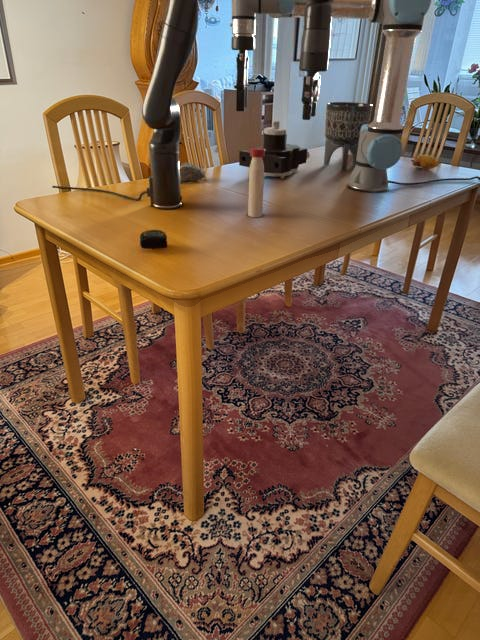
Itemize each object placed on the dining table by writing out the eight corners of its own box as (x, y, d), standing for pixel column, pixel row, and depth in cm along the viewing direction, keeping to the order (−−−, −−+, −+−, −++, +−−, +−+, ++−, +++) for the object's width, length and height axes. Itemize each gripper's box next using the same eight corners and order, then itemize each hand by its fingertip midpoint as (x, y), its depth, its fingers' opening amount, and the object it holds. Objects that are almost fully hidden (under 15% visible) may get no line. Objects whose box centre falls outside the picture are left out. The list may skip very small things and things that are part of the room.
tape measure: (140, 252, 115) (139, 238, 113) (141, 242, 120) (140, 229, 119) (167, 251, 116) (166, 237, 114) (167, 241, 121) (166, 228, 120)
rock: (198, 175, 188) (197, 159, 184) (210, 180, 182) (210, 163, 179) (170, 180, 180) (169, 163, 177) (183, 185, 175) (182, 168, 171)
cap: (248, 156, 134) (248, 149, 133) (252, 154, 137) (252, 147, 136) (262, 157, 133) (262, 150, 132) (266, 155, 136) (266, 148, 135)
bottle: (246, 216, 143) (247, 150, 133) (250, 212, 147) (252, 148, 137) (259, 218, 142) (262, 151, 132) (263, 213, 145) (266, 149, 136)
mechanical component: (240, 120, 182) (283, 115, 202) (239, 174, 192) (280, 164, 212) (283, 126, 170) (325, 120, 190) (280, 183, 180) (320, 171, 200)
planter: (313, 167, 208) (319, 103, 195) (331, 160, 222) (338, 101, 209) (353, 173, 199) (362, 107, 185) (369, 166, 213) (379, 104, 199)
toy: (413, 162, 205) (407, 155, 217) (415, 176, 208) (410, 168, 220) (439, 154, 201) (432, 147, 214) (441, 168, 204) (434, 161, 217)
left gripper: (305, 50, 125) (300, 114, 133) (295, 49, 113) (290, 120, 121) (332, 51, 123) (325, 116, 131) (325, 50, 111) (318, 121, 119)
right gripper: (234, 37, 155) (234, 105, 166) (227, 34, 134) (227, 112, 144) (256, 37, 155) (254, 106, 165) (253, 34, 133) (250, 113, 144)
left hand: (308, 118), depth 126 cm, fingers open, 8 cm apart
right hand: (241, 109), depth 155 cm, fingers open, 13 cm apart
